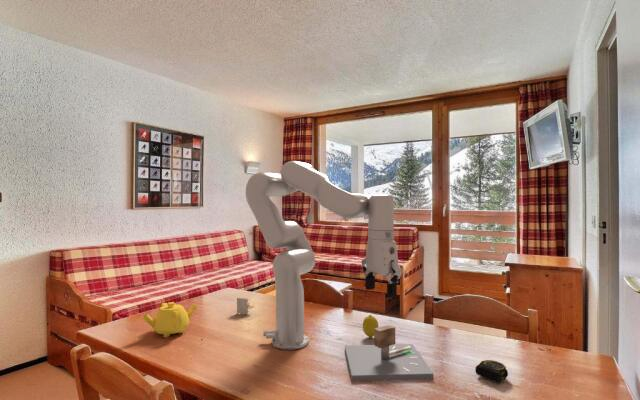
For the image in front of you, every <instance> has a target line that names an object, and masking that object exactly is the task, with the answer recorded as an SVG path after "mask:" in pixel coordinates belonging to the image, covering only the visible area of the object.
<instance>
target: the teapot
mask: <svg viewBox="0 0 640 400" xmlns="http://www.w3.org/2000/svg"><path fill="white" fill-rule="evenodd" d="M197 309H198V305H195V304H192V305H191V307H190V308H189V309H188V311H186V310H185V308H184V306H183V305H182V304H178V303H177V304H176V303H175V302H174V301H171V302H169V301H168V303H167V302H162V303H161V307H160V308H159V309H158V311H157V312H156V313H155V316H154V317H153V318H152V317H151V316H150V314H148V313H145V314H143V316H142V317H141V318H142V319H143V320H144V321H145V322H146V323H147V324H148V325H149V326H151V328H152V330H153V331H154V332H155V333H157V334H158V335H163V336H162V338H163V337H167V338H169V337H170V336H171V334H172V335H174V334H178V333H179V334H178V335H181V334H180V333H183V334H185V330H186V329H187V327H189V324H190V318H191V317H192V315H193V314H194V313H195V311H196V310H197Z"/></svg>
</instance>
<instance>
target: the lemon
mask: <svg viewBox="0 0 640 400" xmlns="http://www.w3.org/2000/svg"><path fill="white" fill-rule="evenodd" d="M378 322H379V321H378V320H377V318H376V317H375V316H373V315H371V314H369V315H367V316H366V317H365V318H364V319H363V321H362V331H363V333H364V334H365V335H366V336H367V337H368V338H369V339H372V338H374V328H379V323H378Z"/></svg>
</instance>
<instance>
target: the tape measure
mask: <svg viewBox="0 0 640 400" xmlns="http://www.w3.org/2000/svg"><path fill="white" fill-rule="evenodd" d="M474 368H475V374H476V375H478V376H480V377H482V378H484V379H487V380H489V381H491V382H494V383H496V384H499V385H500V384H501V383H502V382H504V381H505V380H506V379H507V378H508V376H509V373H508V369H507V367H506V365H505V364H504V363H502V362H500V361H497V360H494V359H493V360H492V359H485V360H482V361H480V362H479V363H478V364H477V365H476V366H475V367H474Z"/></svg>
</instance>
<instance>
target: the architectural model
mask: <svg viewBox="0 0 640 400" xmlns="http://www.w3.org/2000/svg"><path fill="white" fill-rule="evenodd" d="M253 308H255V305H251V304H249V299H248V298H246V297H243V298H242V297H236V314H237V313H240V314H239V315H241V314H246V315H245V316H247V315H249V313H248V312H249V310H251V309H253Z"/></svg>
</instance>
